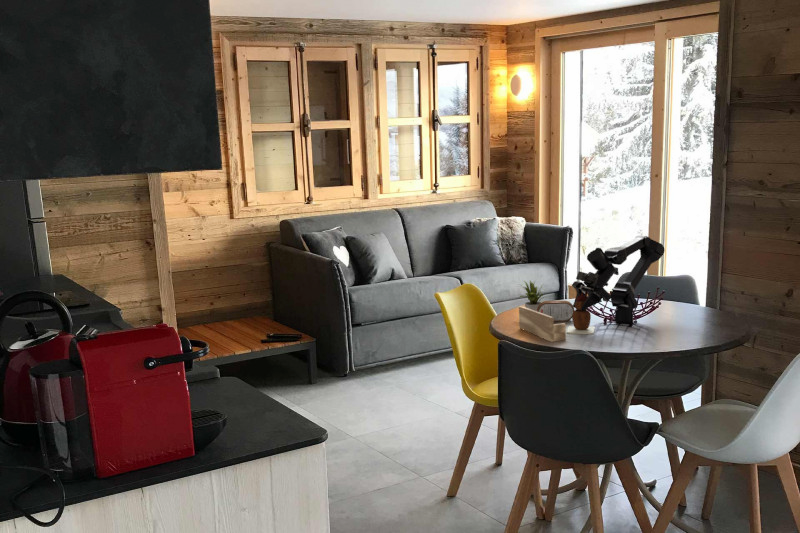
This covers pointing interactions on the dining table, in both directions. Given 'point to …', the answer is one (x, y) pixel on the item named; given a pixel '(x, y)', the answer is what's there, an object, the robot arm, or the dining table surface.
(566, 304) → the tin
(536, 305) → the house plant
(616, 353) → the dining table surface
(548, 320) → the shelf bay
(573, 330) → the board
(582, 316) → the wooden figurine
